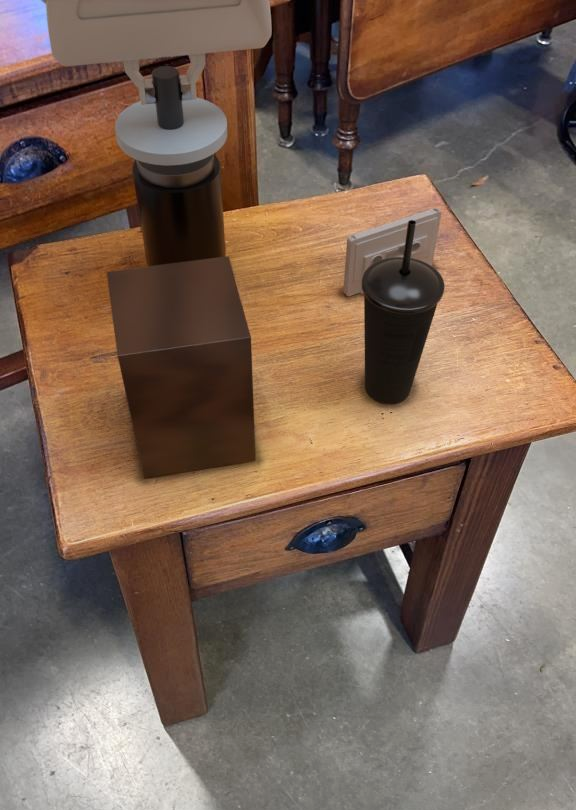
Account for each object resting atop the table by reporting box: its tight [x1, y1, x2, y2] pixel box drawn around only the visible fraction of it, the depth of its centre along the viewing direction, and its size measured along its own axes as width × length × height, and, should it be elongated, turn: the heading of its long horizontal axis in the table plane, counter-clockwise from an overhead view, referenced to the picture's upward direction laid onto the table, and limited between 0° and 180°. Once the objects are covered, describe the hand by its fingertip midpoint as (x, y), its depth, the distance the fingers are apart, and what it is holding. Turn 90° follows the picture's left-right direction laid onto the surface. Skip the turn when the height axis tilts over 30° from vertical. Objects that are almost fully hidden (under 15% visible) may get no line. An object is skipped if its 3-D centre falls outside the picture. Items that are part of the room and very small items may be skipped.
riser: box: [106, 255, 257, 479], centre depth 77 cm, size 11×11×16 cm
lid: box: [114, 65, 228, 165], centre depth 81 cm, size 11×11×6 cm
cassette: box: [342, 207, 442, 297], centre depth 95 cm, size 12×2×8 cm, turn 118°
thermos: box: [131, 153, 227, 267], centre depth 92 cm, size 9×9×16 cm
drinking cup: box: [361, 220, 445, 405], centre depth 79 cm, size 8×8×20 cm
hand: (168, 99), depth 81 cm, fingers closed on lid, 2 cm apart
